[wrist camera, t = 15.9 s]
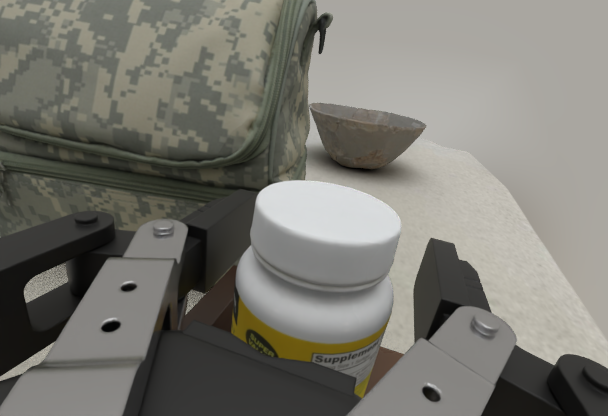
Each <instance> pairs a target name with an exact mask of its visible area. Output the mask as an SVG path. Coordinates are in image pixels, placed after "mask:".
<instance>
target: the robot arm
mask: <svg viewBox="0 0 608 416" xmlns="http://www.w3.org/2000/svg"><path fill="white" fill-rule="evenodd" d="M258 194H259V193H255V192H251V191H247V190H243V189H239V190H237V191H236V192H234V193H232V194H231V195H229V196H228V197H223V198H219V199H215V200H212V201H211V202H209V203H207V204H206V205H204V206H202V207H201V208H199V209H198V210H197V211H194V212H192V213H191V214H189V215H187V216H186V217H184V218H183V219H181V220H179V221H178V220H173V219H157V220H152V221H148V222H146V223H144V224H142V225H141V226H140V227H139V228H138V230H137V231H128V230H117V229H115V224H114V217H113V216H112V215H111V214H109V213H106V212H102V211H83V212H77V213H73V214H70V215H67V216H64V217H61V218H58V219H55V220H52V221H49V222H46V223H43V224H40V225H37V226H34V227H31V228H28V229H25V230H22V231H19V232H16V233H13V234H10V235H7V236H4V237H1V238H0V376H2V375H3V374H5V373H6V372H8V371H9V370H11V369H13V368H14V367H16V366H17V365H19V364H20V363H22V362H23V361H25V360H27V359H28V358H30V357H31V356H33V355H34V354H36V353H37V352H39V351H41V350H42V349H44V348H45V347H47V346H48V345H50V344H51V343H53V342H55V341H56V342H55V343H54V345H53V347H52V348H51V350H50V352H49V353H48V355H47V356H46V358H45V359H44V360H43V361H42V362H41V363H40V364H39V365H36V366H33V367H31V368H29V369H28V370H27V371H26V372H24V373H23V374H20V375H17V376H15V377H12V378H9V379H6V380H3V381H0V416H608V369H607V368H606V367H604V366H602V365H600V364H598V363H597V362H594V361H592V360H590V359H587V358H585V357H581V356H578V355H572V354H566V355H563V356H561V357H560V358H559V359H558V361H557V362H556V364H555V365H552V364H550V363H548V362H546V361H544V360H542V359H540V358H538V357H536V356H534V355H532V354H530V353H528V352H527V351H525V350H523V349H521V348H520V347H518V346H517V345H515V344H516V341H517V339H516V335H515V333H514V331H513V330H512V329H511V327H510V326H509V325H508V324H507V323H506V322H504V321H503V320H502V319H500V318H499V317H498V316H496V315H494V314H492V312H491V310H490V307H489V304H488V301H487V298H486V296H485V293H484V291H483V287H482V285H481V283H480V279H479V276H478V273H477V271H476V270H475V269H474V268H473V267H472V266H471V265H470V264H469V263H468V262H467V261H463V260H459V259H458V256H457V252H456V248H455V245H454V244H453V243H449V242H445V241H441V240H438V239H434V238H431V239H430V240H429V242H428V245H427V248H426V251H425V254H424V257H423V259H422V262H421V265H420V268H419V271H418V274H417V277H416V281H415V285H414V337H415V344H414V345H413V346H412V347H411V348H410V349H409V350H408V351H407V352H406V353H405V354H404V355H403V356H402V357H401V358H400V359H399V360H398V361H397V363H396V364H395V365H394V366H393V367H392V368H391V369H390V370H389V371H388V372H387V373H386V374H385V375H384V376H383V377H382V378H381V379H380V380H379V381H378V383H377V384H376V385H375V386H374V387H373V388H372V389H371V390H370V391H369V392H368V393H367V394H366V395H365V396H364V397H363V398H361V397H359V396H358V395H356V394H355V393H354V391H355V385H356V379H357V378H356V377H353V376H350V375H347V374H345V373H342V372H339V371H336V370H333V369H331V368H328V367H325V366H322V365H320V364H317V363H314V362H308V361H300V360H293V359H285V358H278V357H270V356H267V355H264V354H262V353H261V352H259V351H258V350H256V349H255V348H253V347H252V346H250V345H249V344H247V343H246V342H244V341H243V340H241V339H240V338H238V337H236V336H235V335H233V334H232V333H230V332H228V331H225V330H222V329H219V328H216V327H214V326H211V325H208V324H205V323H202V322H200V321H197V320H193V321H192V322H191V323H190V324H189V325H188V326H187V327H186V328H185V330H184V331H182V328H183V323H184V318H185V312H186V307H187V301H188V292H189V291H190V290H191V289H193V290H196V291H199V292H202V293H206V292H207V291H208V290H209V289H210V288H211V287H212V286H213V285H214V284H215V283H216V282H217V281H218V280H219V279H220V278H221V277H222V276H223V275H224V274H225V272H226V271H227V270H228V269H229V268H230V267H231V266H232V265H233V264H234V263H235V262H236V261H237V260H238V259H239V258H240V257H241V256H242V255H243V254H244V252H245V251H246V250H247V249H248V248H249V247H250V246H251V237H250V230H251V227H252V222H253V215H254V209H255V202H256V198H257V196H258ZM64 262H65V264H66V270H67V276H68V281H69V282H67V283H65V284H63V285H61V286H60V287H58V288H56V289H54V290H52V291H50V292H48V293H46V294H44V295H42V296H40V297H38V298H36V299H34V300H32V301H30V302H28V303H26V302H25V298H24V288H25V286H26V284H27V283H28V281H29V280H30V279H32V278H33V277H34V276H36V275H38V274H40V273H42V272H44V271H47V270H49V269H51V268H53V267H55V266H58V265H60V264H62V263H64Z"/></svg>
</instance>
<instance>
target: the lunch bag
mask: <svg viewBox="0 0 608 416" xmlns="http://www.w3.org/2000/svg"><path fill="white" fill-rule="evenodd" d="M332 20H333V15H332V14H330V13H324V14H322V15H321V16H320V17H319V18H318V19H317V6H316V1H315V0H0V237H4V236H7V235H10V234H13V233H16V232H19V231H22V230H25V229H28V228H31V227H34V226H37V225H40V224H43V223H46V222H49V221H52V220H55V219H58V218H61V217H64V216H67V215H70V214H73V213H77V212H83V211H102V212H106V213H109V214H111V215H112V216H113V217H114V224H115V229H117V230H128V231H137V230H138V228H139V227H140V226H141V225H142V224H144V223H146V222H148V221H152V220H157V219H173V220H178V221H179V220H181V219H183V218H184V217H186V216H187V215H189V214H191V213H192V212H194V211H197V210H198V209H199V208H201V207H202V206H204V205H206V204H207V203H209V202H211V201H212V200H215V199H219V198H223V197H228V196H229V195H231V194H232V193H234V192H236V191H237V190H239V189H243V190H247V191H251V192H255V193H260V191H261V190H263V189H264V188H265V187H267V186H269V185H271V184H274V183H278V182H283V181H294V180H305V175H306V163H305V162H306V158H307V153H306V152H307V149H306V145H305V142H306V140H307V137H308V134H309V129H310V116H309V106H308V70H309V65H310V59H311V52H312V47H313V41H314V35H315V33H316V32H317V31H318V30H319V32H320V44H319V54H321V53H322V50H323V46H324V40H325V34H326V28H328V27H329V25H330V24H331V22H332ZM241 257H242V256H241ZM241 257H240V258H239V259H238V260H237V261H236V262H235V263H234V264H233V265H235V266H238V264H239V261H240V259H241ZM233 265H232V266H233ZM232 266H231V267H232ZM231 267H230V268H231ZM230 268H229V269H230ZM229 269H228V270H229ZM228 270H227V271H228ZM227 271H226V272H225V274H226V273H227ZM225 274H224V275H225ZM224 275H223V276H224ZM223 276H222V277H223ZM222 277H221V278H222ZM221 278H220V279H221ZM220 279H219V280H220ZM219 280H218V281H219ZM218 281H217V282H218ZM217 282H216V283H217ZM216 283H215V284H216ZM215 284H214V285H215Z"/></svg>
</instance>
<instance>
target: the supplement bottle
mask: <svg viewBox="0 0 608 416" xmlns="http://www.w3.org/2000/svg"><path fill="white" fill-rule="evenodd" d="M400 233H401V221H400V218H399V216H398V215H397V213H396V212H395V211H394V210H393V209H392V208H391V207H390V206H388V205H387V204H385V203H384V202H382V201H381V200H379V199H377V198H375V197H373V196H371V195H369V194H366V193H364V192H361V191H359V190H356V189H352V188H349V187H346V186H342V185H337V184H333V183H327V182H319V181H309V180H294V181H283V182H278V183H274V184H271V185H269V186H267V187H265V188H264V189H263V190H261V191H260V193H259V194H258V196H257V198H256V202H255V209H254V215H253V222H252V227H251V230H250V237H251V246H250V247H249V248H248V249H247V250H246V251H245V252H244V254H243V255H242V257H241V259H240V261H239V264H238V267H237V271H236V277H235V284H234V301H233V302H234V304H233V315H232V327H231V333H232V334H233V335H235V336H236V337H238V338H240V339H241V340H243V341H244V342H246V343H247V344H249V345H250V346H252V347H253V348H255V349H256V350H258V351H259V352H261V353H262V354H264V355H267V356H270V357H278V358H285V359H293V360H300V361H308V362H314V363H317V364H320V365H322V366H325V367H328V368H331V369H333V370H336V371H339V372H342V373H345V374H347V375H350V376H353V377H356V378H357V379H356V385H355V391H354V393H355V394H356V395H358V396H359V397H361V398H363V396H364V393H365V390H366V387H367V384H368V381H369V378H370V375H371V372H372V369H373V366H374V363H375V360H376V357H377V354H378V351H379V348H380V345H381V342H382V339H383V336H384V333H385V330H386V327H387V324H388V321H389V319H390V316H391V312H392V306H393V287H392V283H391V280H390V278H389V275H388V273H389V271H390V268H391V266H392V264H393V261H394V256H395V252H396V248H397V244H398V240H399V237H400Z"/></svg>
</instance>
